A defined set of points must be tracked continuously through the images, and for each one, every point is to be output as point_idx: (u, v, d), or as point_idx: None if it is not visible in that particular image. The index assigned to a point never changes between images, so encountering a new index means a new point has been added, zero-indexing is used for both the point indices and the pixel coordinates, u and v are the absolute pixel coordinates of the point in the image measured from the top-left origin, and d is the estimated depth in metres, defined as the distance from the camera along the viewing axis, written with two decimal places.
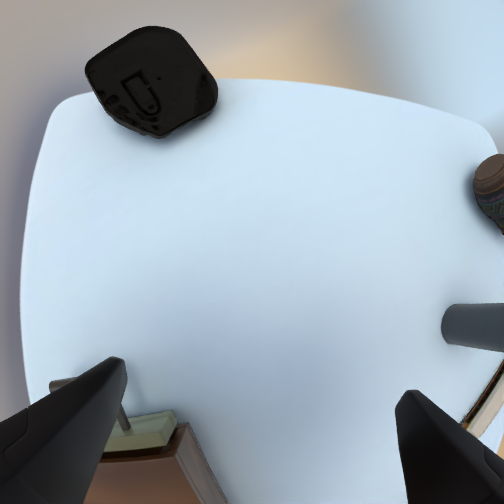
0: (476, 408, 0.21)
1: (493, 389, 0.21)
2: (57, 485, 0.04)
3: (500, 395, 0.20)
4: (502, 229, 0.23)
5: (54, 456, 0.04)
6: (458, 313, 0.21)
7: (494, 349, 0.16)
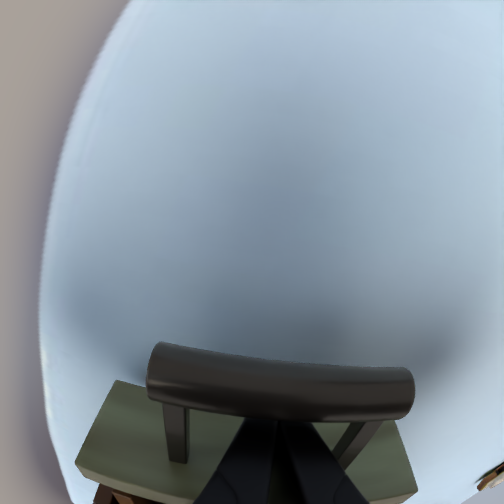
0: None
1: None
2: None
3: None
4: None
5: None
6: None
7: None
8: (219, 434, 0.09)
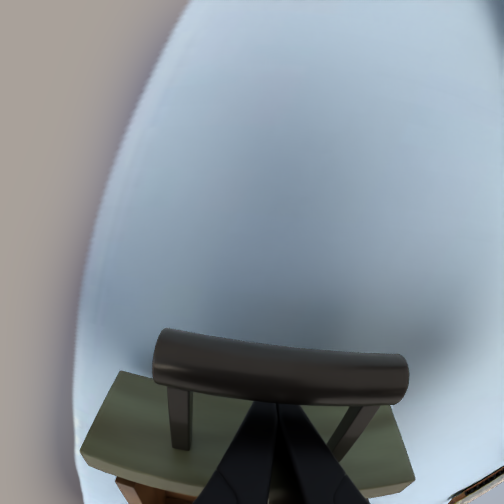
0: (475, 486, 0.20)
1: (493, 480, 0.19)
2: None
3: (492, 487, 0.18)
4: None
5: None
6: None
7: None
8: (221, 422, 0.09)
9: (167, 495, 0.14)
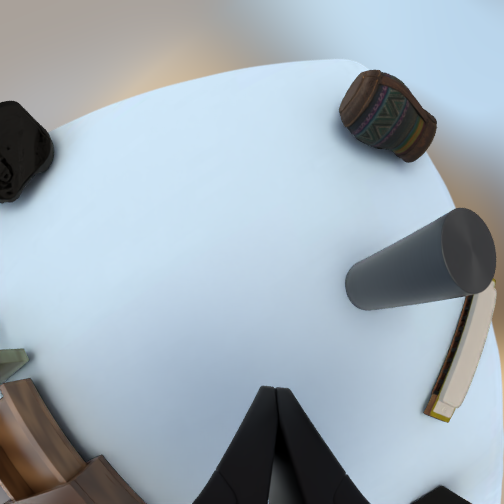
0: (444, 373, 0.20)
1: (458, 344, 0.20)
2: None
3: (471, 348, 0.19)
4: (399, 155, 0.23)
5: None
6: (356, 272, 0.20)
7: (409, 302, 0.15)
8: None
9: (33, 491, 0.14)
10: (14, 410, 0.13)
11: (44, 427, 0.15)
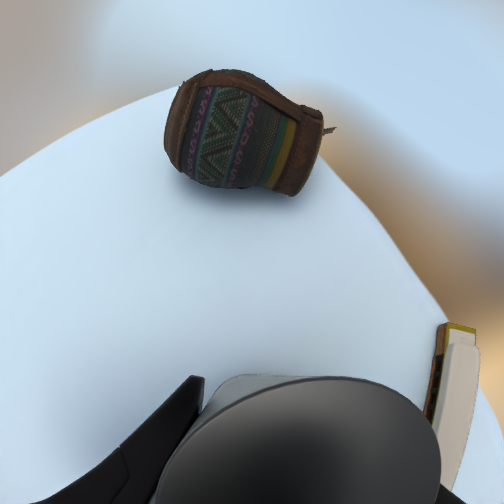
0: None
1: None
2: None
3: (446, 450, 0.11)
4: (275, 189, 0.17)
5: None
6: None
7: None
8: None
9: None
10: None
11: None
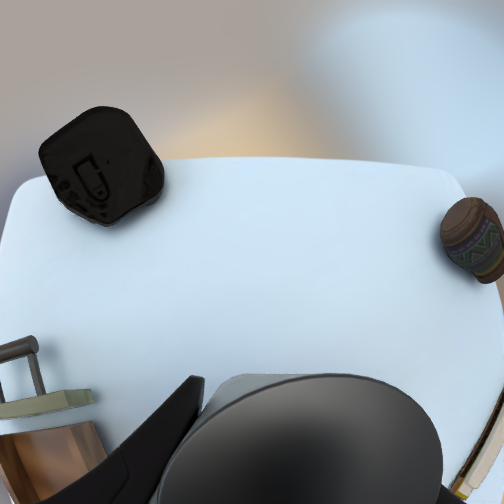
0: (470, 461, 0.17)
1: (487, 438, 0.17)
2: None
3: (496, 442, 0.16)
4: (477, 276, 0.24)
5: None
6: None
7: None
8: None
9: None
10: (77, 457, 0.13)
11: None
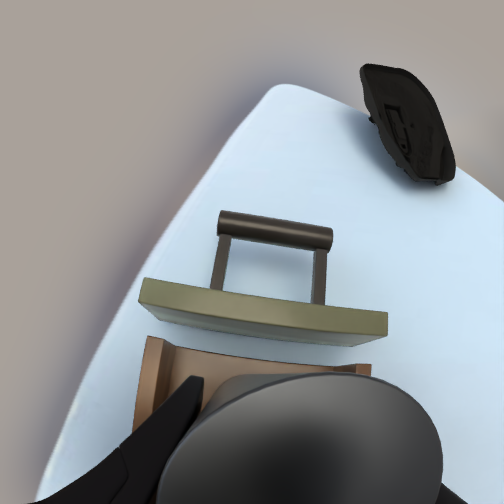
0: None
1: None
2: None
3: None
4: None
5: None
6: None
7: None
8: None
9: None
10: None
11: None
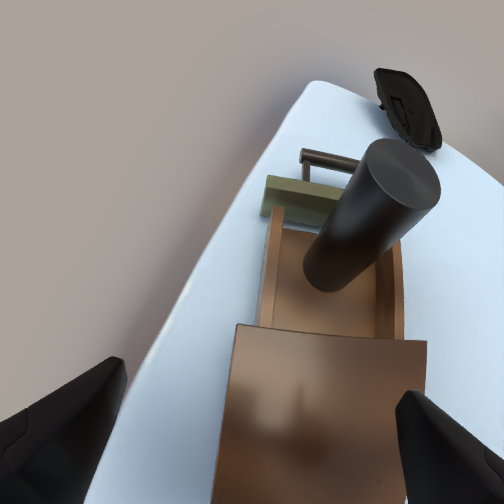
0: None
1: None
2: (57, 485, 0.04)
3: None
4: None
5: (54, 456, 0.04)
6: (310, 252, 0.20)
7: (366, 256, 0.15)
8: None
9: None
10: (397, 253, 0.20)
11: None
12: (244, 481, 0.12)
